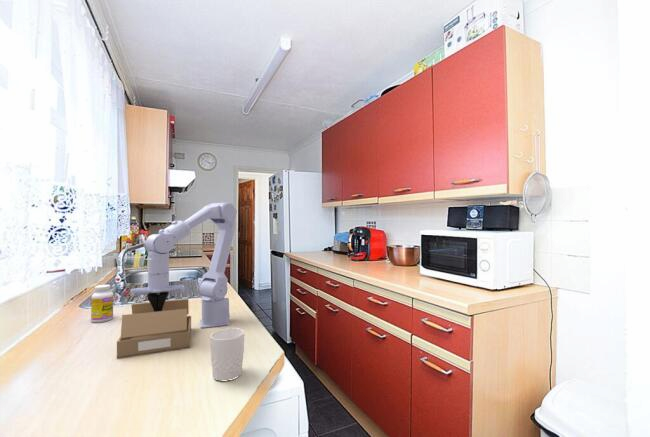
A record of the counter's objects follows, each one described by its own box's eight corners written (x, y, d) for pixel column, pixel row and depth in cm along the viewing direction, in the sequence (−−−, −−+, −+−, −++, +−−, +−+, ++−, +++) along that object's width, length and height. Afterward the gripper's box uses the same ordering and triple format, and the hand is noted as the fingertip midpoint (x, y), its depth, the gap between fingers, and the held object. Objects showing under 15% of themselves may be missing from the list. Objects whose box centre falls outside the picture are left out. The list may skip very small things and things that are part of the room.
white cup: (215, 367, 77) (215, 328, 77) (246, 366, 78) (246, 327, 78) (205, 384, 69) (205, 340, 69) (241, 382, 70) (241, 339, 70)
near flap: (187, 308, 91) (186, 308, 91) (186, 329, 89) (186, 329, 89) (122, 315, 85) (122, 315, 85) (120, 338, 83) (120, 338, 83)
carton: (191, 328, 105) (191, 315, 105) (189, 347, 89) (189, 332, 89) (130, 336, 98) (130, 322, 98) (116, 358, 82) (116, 341, 82)
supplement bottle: (101, 323, 110) (101, 288, 110) (86, 322, 111) (86, 287, 111) (117, 317, 116) (117, 284, 117) (103, 316, 118) (103, 283, 118)
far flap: (188, 314, 104) (188, 313, 104) (188, 299, 102) (188, 298, 103) (132, 320, 98) (132, 319, 98) (131, 304, 96) (131, 303, 96)
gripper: (128, 277, 87) (128, 324, 87) (183, 273, 93) (183, 318, 93) (133, 273, 94) (133, 317, 94) (184, 270, 99) (184, 311, 99)
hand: (158, 317), depth 94 cm, fingers closed
